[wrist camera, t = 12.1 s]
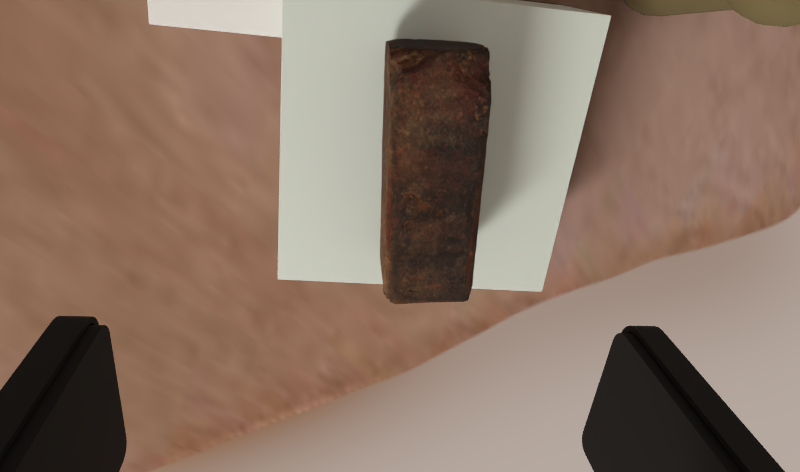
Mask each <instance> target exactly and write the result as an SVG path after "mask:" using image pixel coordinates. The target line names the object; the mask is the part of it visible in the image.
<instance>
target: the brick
mask: <svg viewBox="0 0 800 472" xmlns="http://www.w3.org/2000/svg"><path fill="white" fill-rule="evenodd" d="M489 60H490V52H489V49H488V48H487V47H484V45H481V44H477V43H470V42H461V41H448V40H429V39H417V40H414V39H394V40H389V41H386V44H385V67H384V100H383V132H382V186H381V228H380V263H381V272H382V280H383V292H384V295H386V298H387V299H390V302H392V303H394V304H408V303H426V302H464V301H467V300H468V298H469V295H470V292H471V288H472V285H473V272H474V263H475V253H476V245H477V234H478V226H479V215H480V206H481V195H482V186H483V178H484V169H485V159H486V147H487V139H488V129H489V118H490V108H491V81H490V79H489V76H490V72H489Z"/></svg>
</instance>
